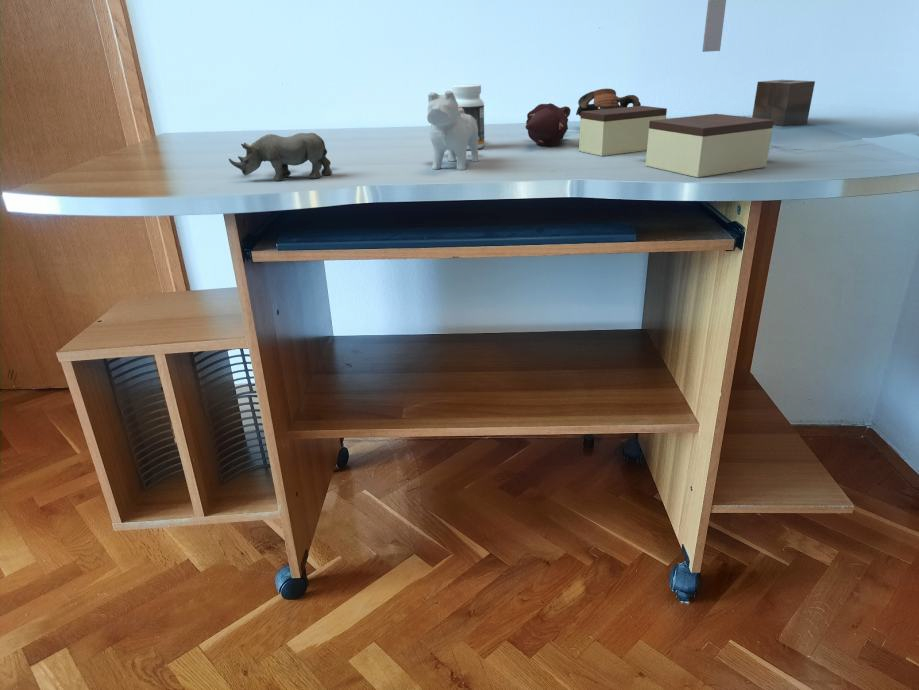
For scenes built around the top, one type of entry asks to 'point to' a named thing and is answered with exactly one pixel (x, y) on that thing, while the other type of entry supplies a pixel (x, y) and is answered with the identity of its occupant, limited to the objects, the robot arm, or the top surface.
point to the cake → (708, 144)
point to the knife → (714, 25)
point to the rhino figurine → (285, 154)
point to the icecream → (547, 124)
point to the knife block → (783, 101)
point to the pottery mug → (605, 100)
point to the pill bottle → (471, 106)
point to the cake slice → (617, 129)
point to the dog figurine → (451, 130)
